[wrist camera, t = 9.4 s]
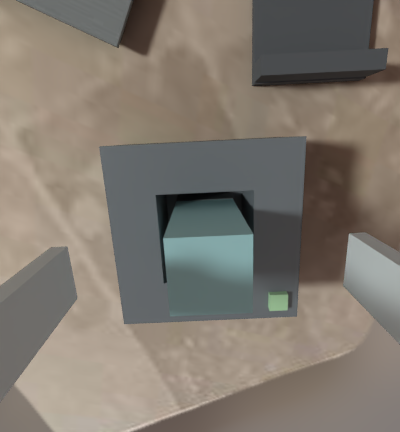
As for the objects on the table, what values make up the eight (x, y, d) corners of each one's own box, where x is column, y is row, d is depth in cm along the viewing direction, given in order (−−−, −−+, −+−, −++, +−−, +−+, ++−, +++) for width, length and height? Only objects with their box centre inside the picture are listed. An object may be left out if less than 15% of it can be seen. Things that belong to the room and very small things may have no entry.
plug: (178, 194, 22) (161, 237, 12) (229, 191, 22) (254, 233, 12) (181, 242, 23) (168, 317, 13) (230, 240, 23) (253, 313, 13)
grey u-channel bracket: (252, -51, 18) (262, -86, 16) (372, -58, 18) (405, -95, 15) (252, 85, 21) (261, 77, 18) (359, 80, 21) (385, 70, 18)
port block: (125, 144, 22) (96, 146, 16) (277, 137, 22) (309, 136, 16) (141, 281, 25) (122, 327, 19) (274, 275, 25) (298, 320, 19)
